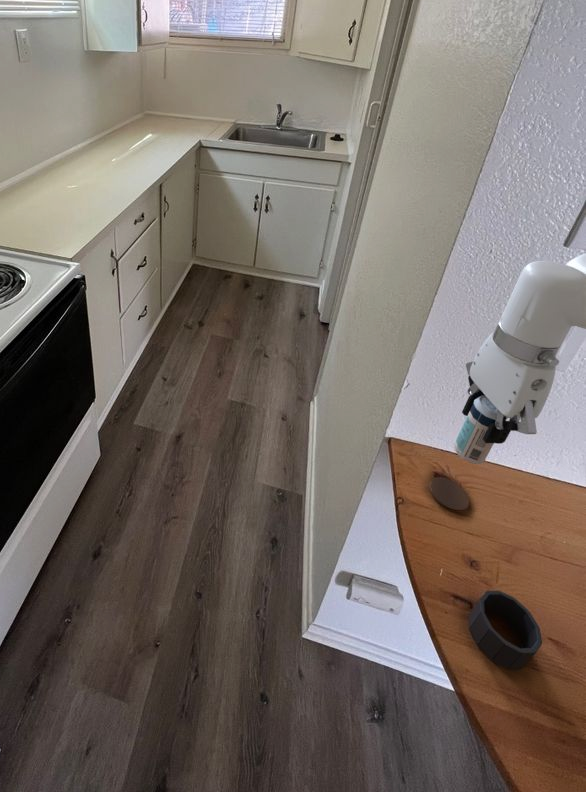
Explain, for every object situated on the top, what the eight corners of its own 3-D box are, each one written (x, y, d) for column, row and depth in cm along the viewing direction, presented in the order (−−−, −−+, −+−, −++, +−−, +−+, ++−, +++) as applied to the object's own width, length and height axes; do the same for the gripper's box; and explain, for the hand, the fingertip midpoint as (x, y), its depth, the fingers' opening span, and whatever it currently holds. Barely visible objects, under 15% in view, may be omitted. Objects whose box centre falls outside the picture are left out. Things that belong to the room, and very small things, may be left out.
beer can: (491, 461, 73) (518, 411, 68) (471, 470, 72) (497, 419, 66) (465, 438, 77) (489, 390, 72) (446, 446, 76) (469, 397, 70)
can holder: (503, 607, 64) (516, 589, 62) (539, 669, 58) (555, 652, 56) (458, 608, 64) (469, 591, 62) (489, 670, 58) (503, 653, 55)
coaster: (454, 478, 83) (455, 476, 82) (475, 511, 77) (477, 509, 77) (422, 479, 82) (423, 477, 82) (441, 512, 77) (442, 510, 77)
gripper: (600, 383, 56) (543, 474, 64) (508, 308, 71) (471, 389, 79) (545, 383, 55) (494, 474, 64) (464, 308, 71) (431, 389, 79)
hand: (482, 426), depth 71 cm, fingers closed on beer can, 4 cm apart
